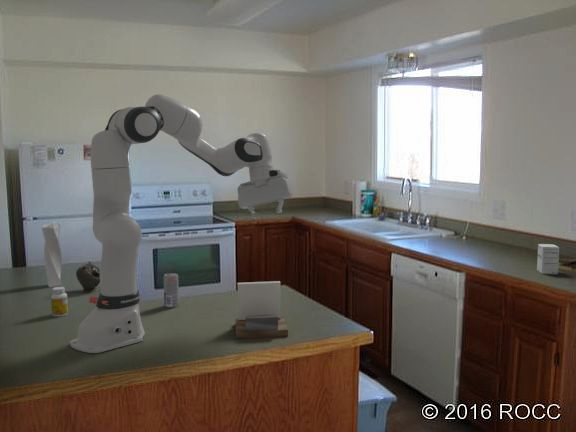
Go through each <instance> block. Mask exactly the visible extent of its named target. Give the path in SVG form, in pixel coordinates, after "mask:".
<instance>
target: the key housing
mask: <svg viewBox="0 0 576 432" xmlns="http://www.w3.org/2000/svg"><path fill="white" fill-rule="evenodd" d="M234 322H235V324H234V325H235V326H234V327H235V334H236V335H235V337H236V339H238V340H239V339H255V338H256V339H257V338H276V337H279V338H280V337H289V329H288V327H287V324H286V320H285V318H284V316H282V315H281V318H278V316H277V314H267V315H245V320H238V318H234Z"/></svg>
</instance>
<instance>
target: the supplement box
mask: <svg viewBox="0 0 576 432" xmlns="http://www.w3.org/2000/svg"><path fill="white" fill-rule="evenodd" d="M536 258H537V262H536V263H537V264H536V271H538V272H539V273H540V274H542V275H559V262H560V260H559V259H560V247H559V246H557V245H556V244H553V243H551V244H550V243H538V244H537V257H536Z"/></svg>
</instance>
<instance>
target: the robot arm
mask: <svg viewBox="0 0 576 432" xmlns="http://www.w3.org/2000/svg"><path fill="white" fill-rule="evenodd" d="M202 129H203V119H202V116H201V115H200V113H199V112H197V110H195V109H193V108H192V107H191V106H188V105H187V104H185V103H184V102H181V101H179V100H177V99H175V98H172V97H169V96H166V95H164V94H160V93H159V94H153V95H151V97H150V98H148V100H147V101H146V103H145V105H144V106H136V107H135V106H129V107H125V108H122V109H118V110H116V111H115V112H114V113H112V115H110V117H109V119H108V121H107V125H106V127H105V128H104V130H101V131H98V132H97V133H95V134H94V135H93V137H92V138H91V142H90V143H91V146H90V169H91V181H92V192H93V204H92V206H93V208H92V233H93V234H94V238H95V239H96V240H97V241H98V242H100V243H101V246H102V249H101V250H102V252H101V262H100V265H99V270H100V283H99V288H100V293H99V295H98V297H96V296H93V295H91V296H89V299H88V302H89V303H90V304H94V305H95V306H96V307H94V308H93V310H92V311H91V312H90V313H89V314H88V315H87V316H86V317H85V318H84V319H83V320H82V321H81V322H80V323H79V326H78V328H77V329H78V331H77V337H76V338H74V339H72V340H70V341H69V346H70V347H71V348H73V349H74V350H77V351H79V352H83V353H89V354H99V353H103V352H107V351H110V350H115V349H118V348H121V347H125V346H129V345H133V344H136V343H140V342H143V341H144V338H143V337H144V336H145V334H146V331H145V330H144V326H143V323H142V318H141V312H140V305H139V304H140V301H141V300H140V291H139V289H138V271H137V270H138V257H139V253H140V251H139V249H140V243H141V241H142V239H143V238H142V237H143V232H142V228H141V227H140V225H139V223H138V222H137V220H136V219H135V218H133V217H131V216H130V215H129V214H130V213H129V211H130V202H131V195H132V185H131V182H132V181H131V172H130V162H129V161H130V160H129V152H130V149H131V146H132V145H134V144H135V145H138V144H146V143H148V142H150V141H152V140H153V139H155V138H156V137H157V135H158V134H159V133H160V131H161V132H163V133H165V134H167V135H169V136H170V137H173V138H174V139H175V140H177V141H178V143H179V145H181V147H182V148H184V149H185V150H186V151H188V152H189V153H190V154H192V155H194V156H196V157H197V158H199V159H200V160H202V161H203V162H204V163H206V164H207V165H209V166H210V167H211V168H212V169H213V170H214V171H215V172H216V173H217V174H218V175H220V176H223V177H230V176H232V175H233V174H235V173H236V172H238V171H240V170H242V169H244V168H245V167H247V168H248V173H249V180H250V181H247V182H244V183H243V182H242V183H240V184H239V185H238V187H237V188H236V189H237V195H238V196H237V203H238V207H239V208H241V209H243V210H245V209H248V211H249V212H250V214H251V218H252V219H253V220H256V219H259V213H257V212H255V211H254V210H255V207H259V206H263V205H267V204H270V203H275V202H278V205H277V207H275V212H276V213H277V214H281V213H283V206H284V203H285V201H284V200H288V199H291V198H292V197H293V195H294V194H293V187H292V184H291V182H290V180H288V178H289V177H288V174H287V173H286V172H284V171H283V170H280V169H275V168H274V166H273V163H272V161H273V154H272V149H271V144H270V140H269V139H268V136H267V135H265V134H263V133H260V132H254V133H249V135H247V136H246V137H241V138H237V139H235V140H234V141H232V142H230V143H229V144H228V145H225V146H224V147H220V148H219V147H218V148H217V147H214V146H213V145H211V144H210V143H208V142H207V141H205V140H204V139H202V138H201V133H202V132H203V131H202Z"/></svg>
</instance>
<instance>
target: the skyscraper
mask: <svg viewBox="0 0 576 432" xmlns="http://www.w3.org/2000/svg"><path fill="white" fill-rule="evenodd" d="M55 224H58V226H57V225H55ZM60 231H61V224H60V223H59V222H58V221H52V222H51V223H50V224H44V225H42V226H41V232H42V235H43V239H44V246H43V247H44V248H43V251H44V252H43V256H44V257H43V258H44V268H45V273H46V278H47V283H46V285H47V286H48V287H49V288H55V287H63V283H62V280H61V278H62V277H61V276H62V265H63V263H62V261H63V259H62V258H63V256H62V250H61V245H60V242H59V239H60V238H59V237H60V233H61V232H60Z"/></svg>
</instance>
